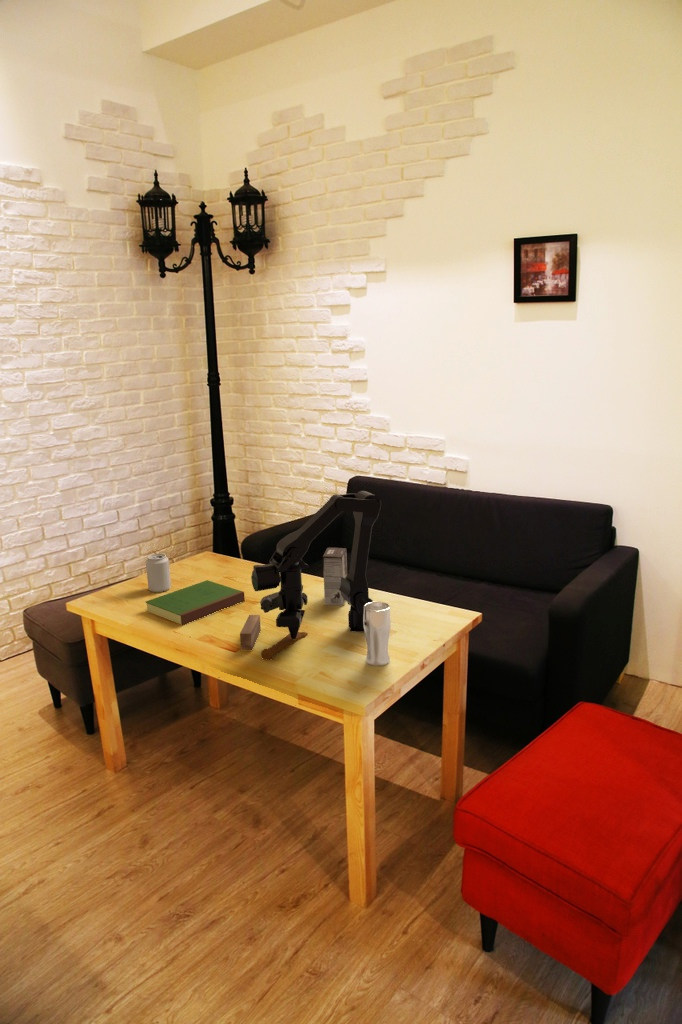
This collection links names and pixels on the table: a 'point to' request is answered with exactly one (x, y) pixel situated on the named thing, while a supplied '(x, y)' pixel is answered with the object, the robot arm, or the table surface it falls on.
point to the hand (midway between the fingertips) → (293, 638)
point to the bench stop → (250, 632)
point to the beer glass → (377, 632)
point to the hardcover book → (194, 602)
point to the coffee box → (334, 574)
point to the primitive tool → (281, 645)
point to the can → (158, 572)
